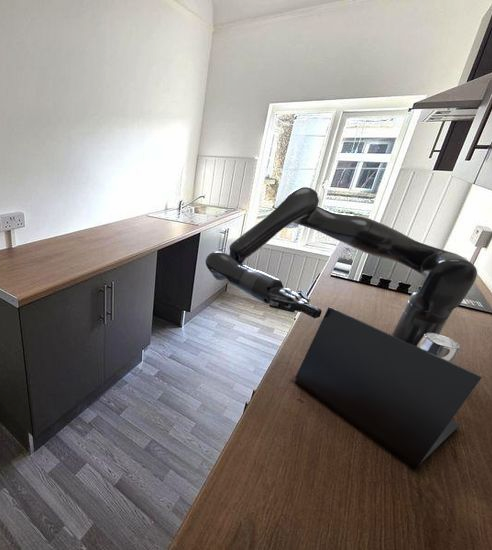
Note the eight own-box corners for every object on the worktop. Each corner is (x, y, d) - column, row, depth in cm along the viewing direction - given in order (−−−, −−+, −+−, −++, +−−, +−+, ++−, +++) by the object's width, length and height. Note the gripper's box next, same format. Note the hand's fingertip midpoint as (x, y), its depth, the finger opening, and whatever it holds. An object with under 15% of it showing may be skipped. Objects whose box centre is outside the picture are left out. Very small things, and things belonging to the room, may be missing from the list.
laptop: (338, 361, 89) (341, 355, 88) (456, 430, 68) (460, 424, 67) (294, 382, 79) (296, 376, 79) (415, 469, 58) (420, 463, 58)
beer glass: (425, 398, 76) (454, 351, 70) (394, 380, 82) (418, 335, 76) (437, 389, 80) (465, 344, 74) (405, 373, 85) (429, 329, 79)
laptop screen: (330, 306, 72) (328, 307, 71) (482, 376, 51) (481, 377, 51) (296, 377, 79) (294, 377, 78) (419, 464, 58) (418, 465, 57)
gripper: (246, 277, 81) (307, 306, 67) (278, 270, 87) (339, 296, 73) (241, 301, 84) (297, 333, 70) (272, 293, 90) (330, 321, 76)
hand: (319, 314), depth 71 cm, fingers closed
